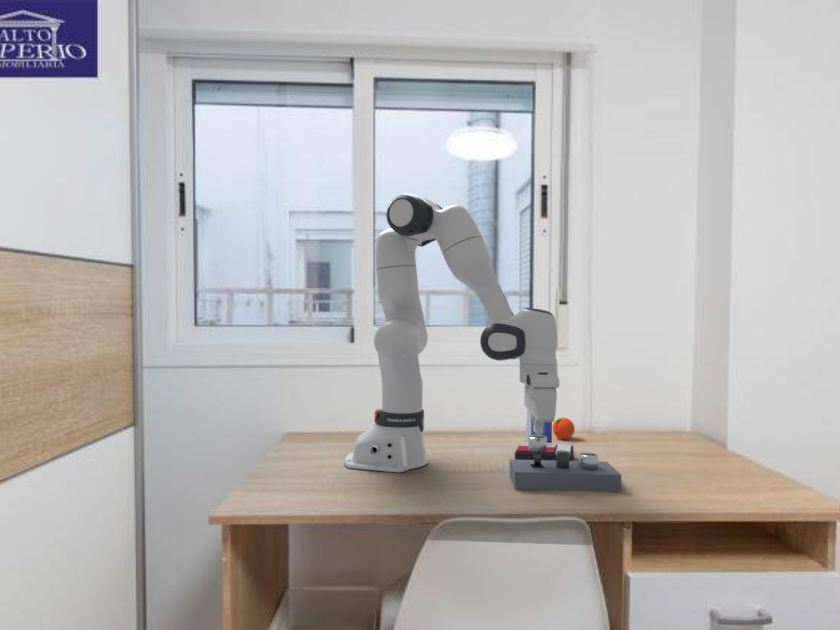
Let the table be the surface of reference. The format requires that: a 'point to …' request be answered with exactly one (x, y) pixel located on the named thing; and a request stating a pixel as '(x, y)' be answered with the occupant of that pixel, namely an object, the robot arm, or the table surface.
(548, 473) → the panel
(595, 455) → the knob
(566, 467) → the dial
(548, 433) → the walkman
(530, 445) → the knob
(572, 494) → the table surface
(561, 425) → the clementine
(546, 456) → the calculator
